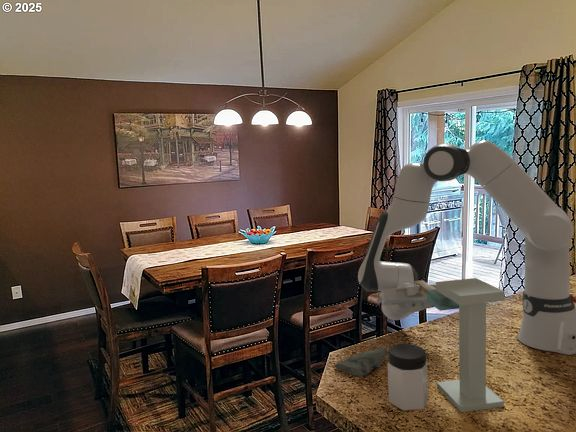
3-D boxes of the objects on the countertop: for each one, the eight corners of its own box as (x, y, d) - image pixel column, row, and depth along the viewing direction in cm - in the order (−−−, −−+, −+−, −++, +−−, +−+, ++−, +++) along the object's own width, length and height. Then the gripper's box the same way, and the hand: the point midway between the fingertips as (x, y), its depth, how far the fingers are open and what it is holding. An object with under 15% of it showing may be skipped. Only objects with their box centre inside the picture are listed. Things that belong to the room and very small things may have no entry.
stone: (375, 341, 131) (403, 351, 123) (375, 352, 131) (403, 362, 123) (332, 358, 120) (360, 369, 112) (333, 369, 121) (360, 381, 113)
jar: (422, 415, 97) (421, 362, 95) (385, 407, 101) (383, 356, 99) (430, 394, 104) (429, 345, 103) (395, 388, 108) (394, 340, 107)
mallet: (427, 288, 126) (426, 277, 126) (459, 308, 109) (459, 296, 109) (410, 289, 126) (410, 279, 125) (439, 310, 109) (439, 298, 108)
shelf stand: (475, 381, 109) (475, 277, 106) (503, 406, 98) (504, 291, 95) (437, 387, 108) (435, 282, 104) (461, 412, 97) (460, 296, 93)
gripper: (372, 291, 134) (386, 279, 121) (437, 285, 137) (457, 273, 124) (376, 312, 132) (391, 303, 119) (442, 305, 134) (463, 295, 122)
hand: (425, 287), depth 122 cm, fingers closed on mallet, 2 cm apart
